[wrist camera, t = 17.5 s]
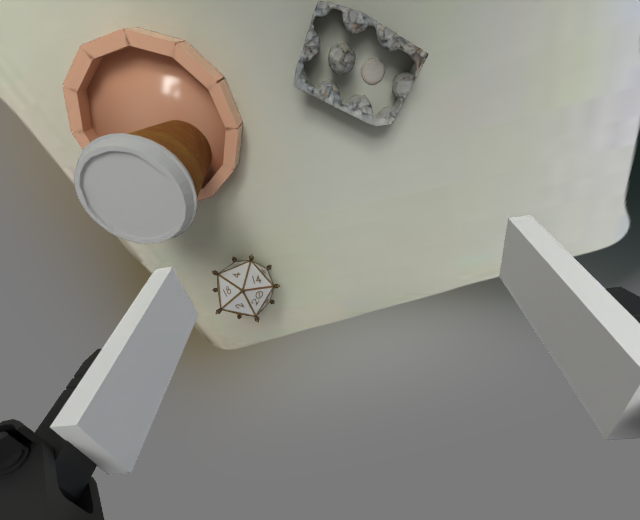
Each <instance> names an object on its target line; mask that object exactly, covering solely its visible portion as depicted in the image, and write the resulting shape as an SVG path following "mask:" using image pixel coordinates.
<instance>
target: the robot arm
mask: <svg viewBox="0 0 640 520" xmlns="http://www.w3.org/2000/svg"><path fill="white" fill-rule="evenodd" d="M499 277H500V278H501V280H502V281H503V283H504V284H505V286H506V287H507V289H508V290H509V292H510V293H511V295H512V297H513V298H514V300H515V301H516V302H517V304H518V306H519V307H520V309H521V310H522V312H523V313H524V315H525V317H526V318H527V319H528V321H529V323H530V324H531V326H532V327H533V329H534V330H535V332H536V333H537V335H538V336H539V338H540V339H541V341H542V343H543V344H544V346H545V347H546V349H547V350H548V352H549V353H550V355H551V356H552V358H553V359H554V361H555V363H556V364H557V366H558V367H559V369H560V370H561V372H562V373H563V375H564V376H565V378H566V379H567V381H568V382H569V384H570V386H571V387H572V389H573V390H574V392H575V393H576V395H577V396H578V398H579V399H580V401H581V402H582V404H583V405H584V407H585V409H586V410H587V412H588V413H589V415H590V416H591V418H592V419H593V421H594V422H595V424H596V425H597V427H598V428H599V430H600V431H601V433H602V434H603V436H604V438H605V439H606V440H618V439H633V438H640V297H639V296H637V295H635V294H633V293H631V292H630V291H627V290H626V289H623V288H622V287H614V288H606V289H605V288H603V286H602V285H601V284H600V283H599V282H598V281H597V280H596V279H595V278H593V276H591V275H590V273H589V272H588V271H587V270H586V269H584V267H582V266H581V264H580V263H578V262H577V261H576V260H575V259H574V258H573V257H572V256H571V255H570V254H569V253H568V252H567V251H566V250H565V249H564V248H563V247H562V246H561V245H560V244H559V243H558V242H557V241H556V240H555V239H554V238H553V237H552V236H551V235H550V234H549V233H548V232H547V231H546V230H545V229H544V228H543V227H542V226H541V225H540V224H539V223H538V222H537V221H536V220H535V219H534V218H533V217H532V216H531V215H526V216H519V217H512V218H508V224H507V230H506V237H505V243H504V250H503V256H502V263H501V269H500V275H499ZM197 317H198V313H197V311H196V309H195V307H194V305H193V303H192V302H191V300H190V298H189V296H188V294H187V292H186V291H185V289H184V287H183V285H182V283H181V281H180V280H179V278H178V276H177V274H176V272H175V270H174V269H173V267H168V268H161V269H155V270H154V272H153V273H152V275H151V276H150V278H149V279H148V281H147V283H146V284H145V285H144V287H143V289H142V290H141V292H140V293H139V294H138V296H137V298H136V299H135V300H134V302H133V303H132V305H131V306H130V308H129V309H128V311H127V312H126V314H125V316H124V317H123V318H122V320H121V321H120V323H119V324H118V326H117V327H116V329H115V331H114V332H113V333H112V335H111V336H110V338H109V339H108V341H107V342H106V344H105V345H104V347H103V348H102V349H97V350H96V351H95V352H94V353H93V354H92V355H91V356H90V357H89V358H88V359H87V360H85V362H83V364H82V365H81V367H80V368H79V370H78V371H77V373H76V374H75V375H74V377H75V378H74V379H72V380H71V381H70V383H69V384H68V386H67V387H66V388H67V389H66V390H64V391H63V393H62V394H61V396H60V397H59V398H58V400H57V401H56V403H55V404H54V406H53V407H52V408H51V410H50V412H49V413H48V414H47V416H46V417H45V419H44V420H43V422H42V423H41V424H40V426H39V427H38V429H37V430H36V432H35V433H34V432H33V431H32V430H30V429H29V428H27V427H26V426H25V425H23V424H22V423H21V422H20V421H17V420H14V419H12V420H7V421H3V422H1V423H0V520H104V517H103V512H102V507H101V502H100V497H99V493H98V488H97V483H96V482H95V480H94V478H93V477H91V476H92V474H93V472H94V470H95V468H96V466H98V467H99V468H100V469H101V470H103V471H104V472H105V473H106V474H122V473H131V471H132V469H133V467H134V465H135V462H136V460H137V458H138V455H139V453H140V450H141V448H142V446H143V443H144V441H145V438H146V436H147V434H148V432H149V429H150V427H151V425H152V422H153V420H154V417H155V415H156V413H157V411H158V408H159V406H160V403H161V401H162V399H163V396H164V394H165V392H166V389H167V387H168V385H169V382H170V380H171V378H172V375H173V373H174V370H175V368H176V366H177V364H178V361H179V359H180V357H181V354H182V352H183V350H184V347H185V345H186V342H187V340H188V338H189V335H190V333H191V331H192V328H193V326H194V324H195V321H196V319H197Z"/></svg>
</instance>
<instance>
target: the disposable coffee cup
mask: <svg viewBox="0 0 640 520" xmlns="http://www.w3.org/2000/svg"><path fill="white" fill-rule="evenodd" d="M211 160H212V152H211V148H210V145H209V142H208V140H207V139H206V137H205V136H204V135H203V134H202V132H201V131H200V130H199V129H197V128H196V127H195V126H193V125H191V124H190V123H187V122H184V121H180V120H171V121H167V122H164V123H160V124H157V125H154V126H151V127H147V128H144V129H141V130H138V131H135V132H131V133H128V134H124V133H118V134H109V135H105V136H101V137H99V138H97V139H95V140H93V141H92V142H90V143H89V144H88V145H87V146H86V147H85V148H84V149H83V151H82V153H81V155H80V157H79V160H78V164H77V167H76V169H75V176H74V182H75V189H76V193H77V196H78V198H79V200H80V202H81V204H82V206H83V207H84V209H85V210H86V212H87V213H88V214H89V215H90V216H91V217H92V218H93V219H94V220H95V221H96V222H97V223H98V224H99V225H101V226H102V227H103V228H104V229H106V230H107V231H108V232H110V233H112V234H114V235H115V236H118V237H120V238H122V239H125V240H128V241H132V242H136V243H143V244H153V243H159V242H163V241H165V240H167V239H170V238H174V237H176V236H178V235H179V234H181V233H183V232H184V231H185V230H186V229H187V228H188V227H189V226H190V225H191V223H192V221H193V219H194V217H195V214H196V210H197V197H198V195H199V192H200V189H201V187H202V184H203V182H204V179H205V177H206V174H207V171H208V169H209V166H210V164H211Z"/></svg>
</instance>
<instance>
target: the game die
mask: <svg viewBox="0 0 640 520" xmlns="http://www.w3.org/2000/svg"><path fill="white" fill-rule="evenodd" d="M249 257H250V258H249V259H250V260H247V261H237V262H236V258H235V257H233V259H232V260H233V262H234V263H232V264H231V265H230V266H228V267H227V268H225V269H224V270H222V271H221V272H220V273H218V272H217V271H216V270H215V271H212V273H213V274H214V275H217V286H218V289H217V288H214V289H213V291H214V292H217V291H218V296H219V303H220V309H218V310H216V314H220V312H221V311H222V310H224V311H228V312H232V313H236V314H238V315H237V317H238V319H240V318H241V315H247V316H254V317H255V321H257V322H259V317H258V316H257V315H258V314H259V313H260V312H261V311H262V310H263V308H264V307H265V306H266V305H267V304H268V303H269V302H270V303H271V304H274V300H270V299H271V296H272V293H273V289H274V288H278V287H280V285H278V284H275V285H274V284H273V282H272V279H271V277H270V275H269V272H268V270H269V269H271V265H268V266H267V268H265V267H263V266H261V265H259V264H257V263H255V262H254V261H252V260H253V258H254V257H253V255H251V256H249Z"/></svg>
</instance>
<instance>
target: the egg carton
mask: <svg viewBox="0 0 640 520" xmlns="http://www.w3.org/2000/svg"><path fill="white" fill-rule="evenodd" d="M331 9H336V10H340V11H342V14H343V23H344V26H345V27H346V28H347V30H348V31H350V32H351V33H353V34H357V33H360V32H362V31H364V30H365V29H366V28H367V26H373V27H375V28H376V36H377V40H378V42H379V43H380V45H382V46H383V47H385V48H387V49H388V50H389V51H396V50H398V49H400V50H402V51H404V52H406V53H407V54H408V55H410V57H411V59H412V60H413V61H414V65H413V67H412V69H411V71H410V72H403V73H400V74H399V75H397V76H396V77H395V79H394V81H393V84H392V91H393V93H394V94H395V96H396V97H397V101H396V102H395V104H394V106H392V107H385V108H383V109H382V110H381V111H380V112H379V113H378V114H374V113H372V106H371V104H370V102H369V100H368V98H367V97H366V96H365V95H362V94H357V95H354V96H352V97H351V98H350V100H349V101H348V102H346V101H344V100H341V99H340V92H339V89H338V87H337V85H336V84H335V83H334V82H332V81H323V82H322V83H320V84H319V85H318V87H317V88H313V86H312V85H310V84H307V82H308V78H307V74H306V73H305V71H304V64H303V63H304V61H310V60H311V59H312V58H313V57H314V56H315V55H316V54H317V53H318V52H319V49H320V39H319V36H318V34H317V33H316V31H315V30H314V25H313V22H314V19H315V17H316V16H325V15H327V14H328V13H329V12H330V11H331ZM427 56H428V54H427V53H426V52H425V51H424V50H422V49H420V48H418V47H417V46H415V45H414V44H412V43H411V42H409V41H407V40H406V39H404V38H402V37H400V36H399V35H398V34H397V33H395V32H394V31H392V30H390V29H388V28H387V27H385V26H383V25H382V24H380V23H378V22H377V21H375V20H374V19H372V18H371V17H369V16H367V15H365V14H363V13H361V12H359V11H356V10H353V9H350V8H346V7H343V6H339V5H336V4H333V3H331V2H323V1H320V0H319V1H318V3H317V6H316V9H315V11H314V14H313V17H312V20H311V26H310V29H309V31H308V33H307V36H306V40H305V44H304V47H303V50H302V53H301V57H300V60H299V61H298V64H297V68H296V73H295V78H294V85H295V86H296V87H297V88H299V89H301V90H302V91H304V92H306V93H308V94H310V95H312V96H315V97H317V98H318V99H320V100H322V101H324V102H326V103H328V104H330V105H331V106H333V107H335V108H337V109H340V110H342V111H344V112H346V113H348V114H350V115H352V116H354V117H356V118H358V119H360V120H362V121H364V122H366V123H368V124H371V125H374V126H382V125H388V124H392V122H393V121H394V119H395V117H396V115H397V113H398V111H399V109H400V108H401V106H402V104H403V102H404V100H405V98H406V96H407V94H408V92H409V90H410V88H411V86H412V85H413V83H414V81H415V78H416V77H417V75H418V73H419V72H420V70H421V68H422V66H423V64H424V62H425V60H426V58H427ZM328 59H329V66H330V67H331V69H332V70H333V72H335V73H338V74H344V73H347V72H349V71H350V70H351V69H352V68H353V66H354V63H355V59H356V57H355V53H354V52H353V51H352V50H351V48H350V47H349V46H348V45H347V44H345V43H338V44H335V45H334V46H333V47H332V48H331V50H330V52H329V58H328ZM384 70H385V69H384V65H383V63H382V61H380V60H379V59H376V58H371V59H369V60H367V61H366V62H365V63H364V64H363V66H362V70H361V73H362V77H363V79H364V80H365V82H367V83H368V84H376V83H378V82H380V81H381V80H382V78H383V76H384V73H385V71H384Z"/></svg>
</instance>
